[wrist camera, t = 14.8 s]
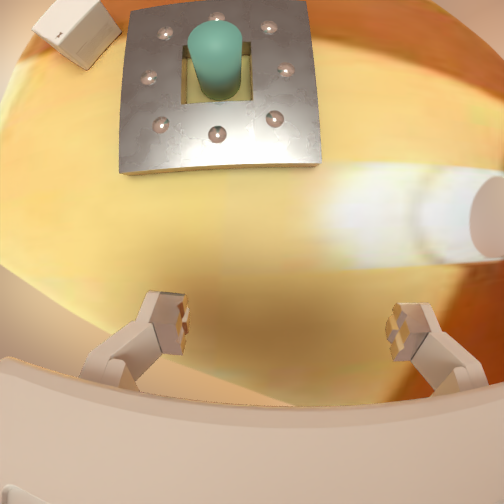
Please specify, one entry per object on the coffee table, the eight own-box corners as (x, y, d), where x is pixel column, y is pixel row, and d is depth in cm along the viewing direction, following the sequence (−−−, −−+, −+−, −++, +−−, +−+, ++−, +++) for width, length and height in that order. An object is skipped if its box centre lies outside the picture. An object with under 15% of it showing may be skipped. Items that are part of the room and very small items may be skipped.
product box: (123, 32, 26) (101, -1, 19) (87, 72, 27) (56, 46, 19) (93, 16, 25) (69, -14, 18) (59, 53, 26) (28, 29, 19)
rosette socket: (300, 15, 27) (306, 0, 24) (313, 167, 29) (322, 163, 26) (138, 24, 26) (130, 10, 23) (129, 176, 29) (118, 173, 25)
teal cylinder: (240, 65, 27) (241, 19, 19) (240, 99, 28) (242, 61, 19) (200, 66, 27) (188, 22, 18) (199, 101, 28) (186, 64, 19)
